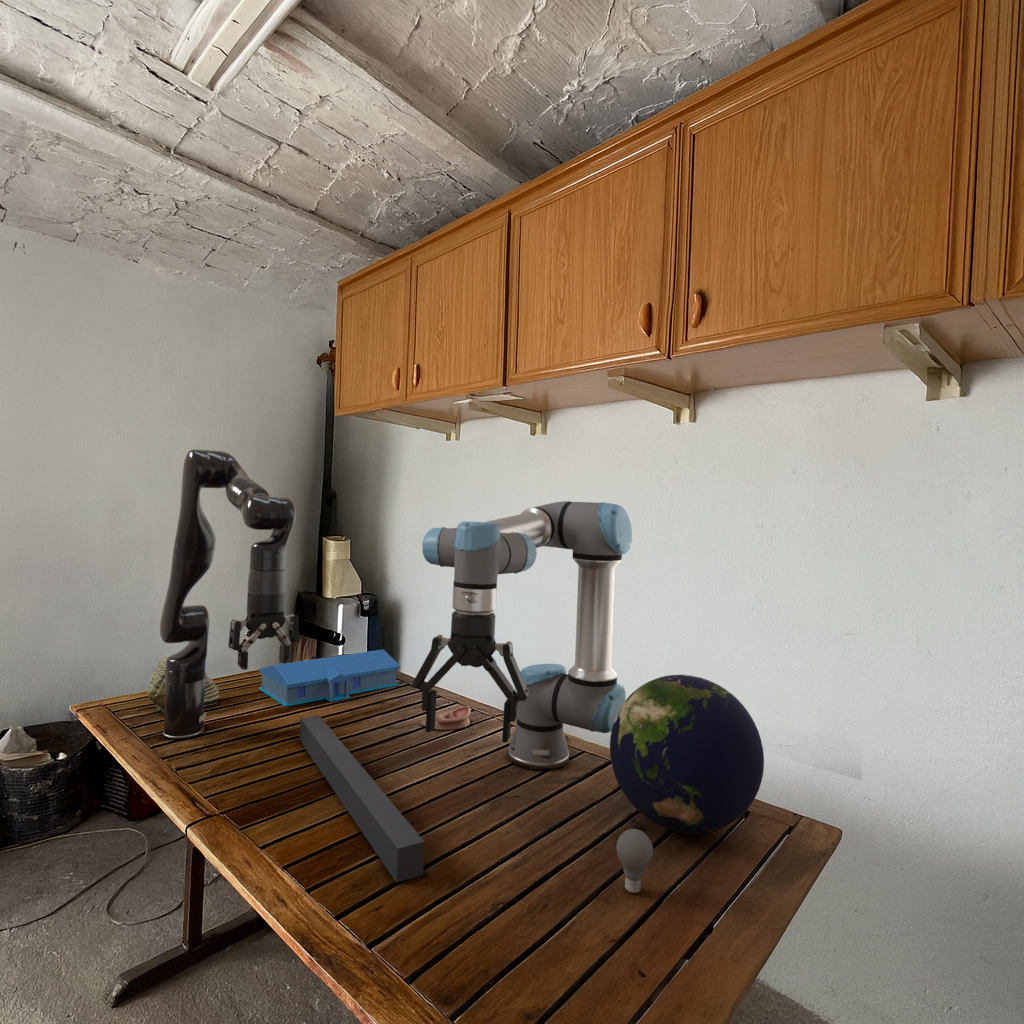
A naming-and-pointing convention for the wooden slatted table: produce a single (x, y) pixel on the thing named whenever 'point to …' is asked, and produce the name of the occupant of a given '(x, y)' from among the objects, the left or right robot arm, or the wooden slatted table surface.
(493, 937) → the wooden slatted table surface
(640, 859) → the light bulb
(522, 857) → the wooden slatted table surface
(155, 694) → the fossil
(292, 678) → the model building
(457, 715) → the anatomical model
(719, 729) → the globe
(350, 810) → the bar
